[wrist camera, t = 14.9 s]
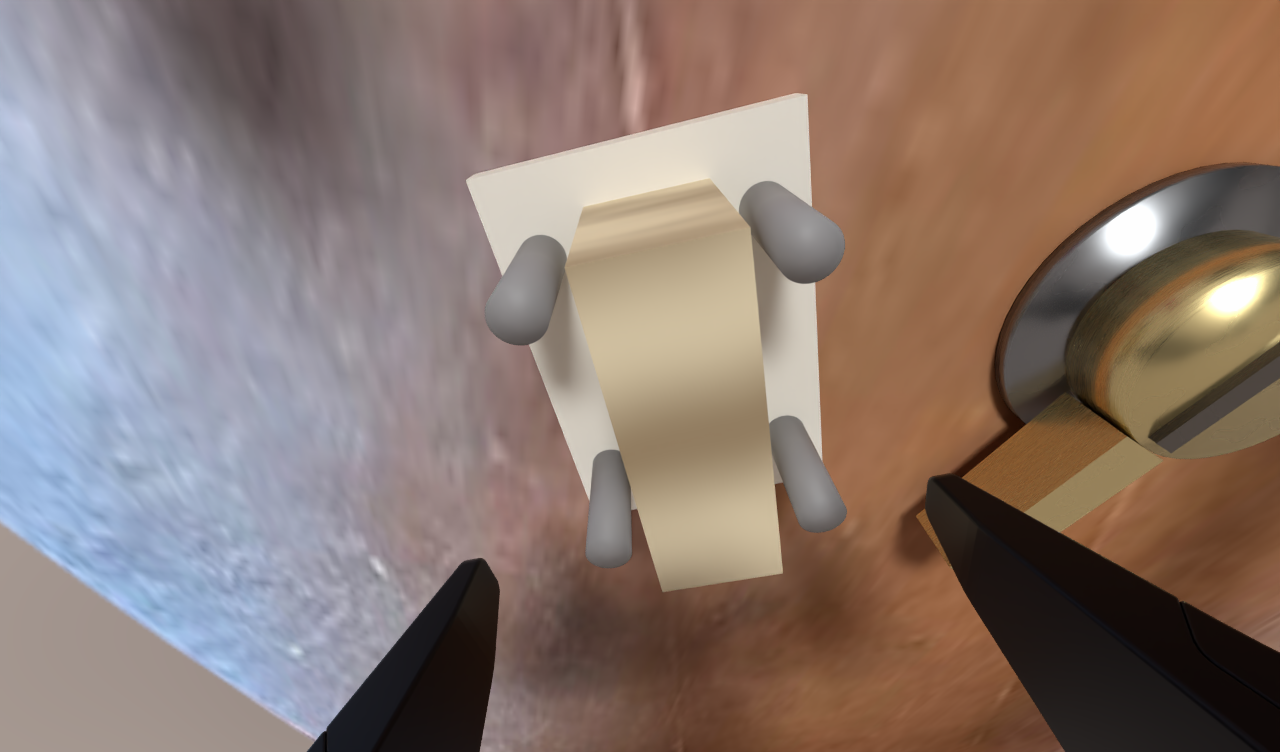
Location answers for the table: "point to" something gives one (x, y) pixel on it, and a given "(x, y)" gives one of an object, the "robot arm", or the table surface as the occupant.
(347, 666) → the table surface
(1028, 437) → the brass lever handle
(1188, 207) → the base
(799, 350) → the peg rack
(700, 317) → the beech bar
